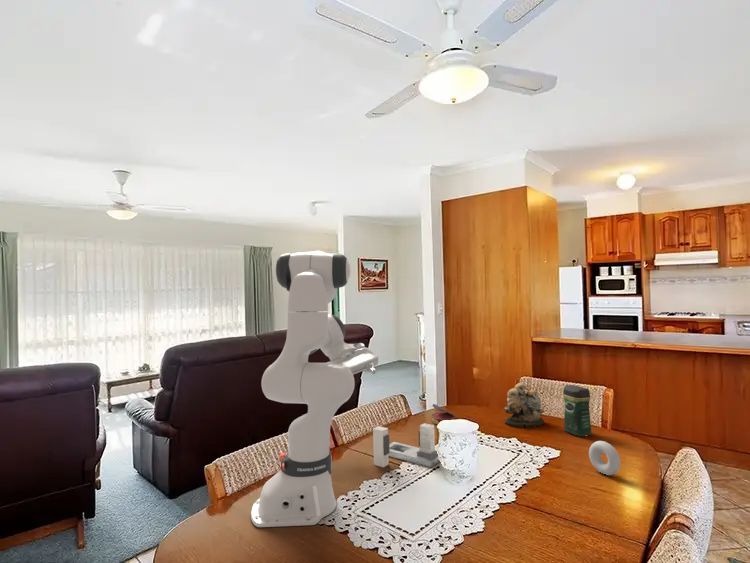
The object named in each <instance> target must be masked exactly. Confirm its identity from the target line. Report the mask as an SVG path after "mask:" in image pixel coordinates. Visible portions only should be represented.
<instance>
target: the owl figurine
mask: <svg viewBox="0 0 750 563" xmlns="http://www.w3.org/2000/svg"><path fill="white" fill-rule="evenodd" d="M526 388H527V385H526V384H524V383H522V382H518V383H517V384H515V385H514V388H510V389H509V390H508V391H507V394H506V395H507V398H506V401H507V406H506V407H503V410H504V411H505V413H506V414H509V415H510V416H508V417H507V418H505V420H504V424H506V425H508V426H510V427H512V428H518V427H520V428H522V427H523V428H526V427H531V428H535V427H534V426H538V427H540V426H539V425H542V424H543V425H544V424H545V420H544V419H543V418H542V417H541V415H542V414H543V413H545V410H544V409H543V408H542V401H541V397H540V396H539V394H538V392H537V390H535V389H530V390H528V391H527V392H526ZM541 408H542V409H541ZM543 425H542V426H543Z"/></svg>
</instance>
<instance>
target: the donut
mask: <svg viewBox="0 0 750 563" xmlns="http://www.w3.org/2000/svg"><path fill="white" fill-rule="evenodd" d="M602 453H603V454H604V455H605V456H606V458H607V462H605V461H604V460H603V458H602ZM588 456H589V460H590V463H591V464H592V465H593V467H594V469H596V471H597V472H598V473H600V472H601V474H602V473H603V474H602V475H604V474H606V475H605V476H614V475H615V474H617V473H618V472H619V470H620V468H621V459H620V457H621V456H620V455H619V453H618V451H617V450H616V448H615V447H614V446H612V444H610V443H608V442H607V441H604V440H596V441H595V442H593V443H592V444H591V445H590V447H589V449H588Z"/></svg>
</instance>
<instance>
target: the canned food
mask: <svg viewBox="0 0 750 563" xmlns="http://www.w3.org/2000/svg"><path fill="white" fill-rule="evenodd" d="M432 407H433V409H435V410H437V411H440V412H436V413H432V415H431V423H432V425H434V426H438V425H437V424H438V423H439V422H440V421H442V420H451V419H455V418H456V415H455V414H454V413H451V412H449V411H447V410H446V409H444V408H442V407H440V406H439V405H437V404H434V403H433V404H432ZM455 420H456V419H455Z"/></svg>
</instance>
